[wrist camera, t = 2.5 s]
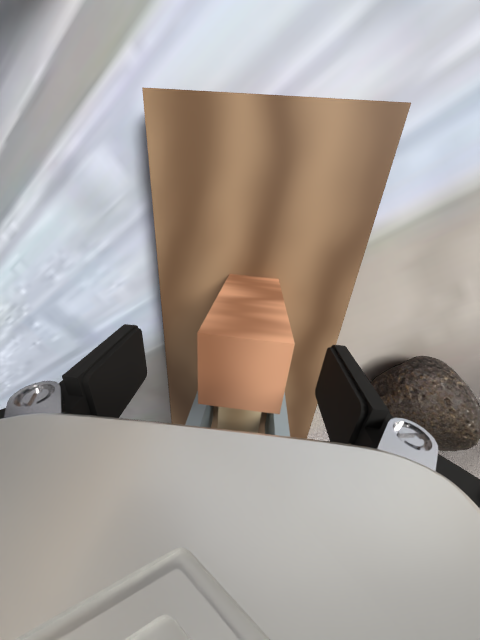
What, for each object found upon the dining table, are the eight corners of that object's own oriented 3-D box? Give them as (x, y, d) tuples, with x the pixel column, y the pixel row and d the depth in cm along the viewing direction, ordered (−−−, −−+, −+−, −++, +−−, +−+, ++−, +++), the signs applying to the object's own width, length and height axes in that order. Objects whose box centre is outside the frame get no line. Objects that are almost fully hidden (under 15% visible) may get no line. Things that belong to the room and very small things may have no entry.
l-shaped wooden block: (278, 278, 18) (294, 344, 9) (255, 429, 26) (251, 545, 17) (229, 273, 18) (197, 333, 9) (221, 425, 26) (199, 536, 17)
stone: (392, 396, 29) (510, 419, 21) (362, 447, 25) (494, 501, 17) (364, 333, 27) (482, 329, 19) (328, 377, 23) (457, 397, 15)
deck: (392, 116, 15) (411, 102, 13) (290, 470, 32) (291, 485, 30) (156, 102, 15) (142, 87, 14) (180, 455, 32) (175, 469, 31)
